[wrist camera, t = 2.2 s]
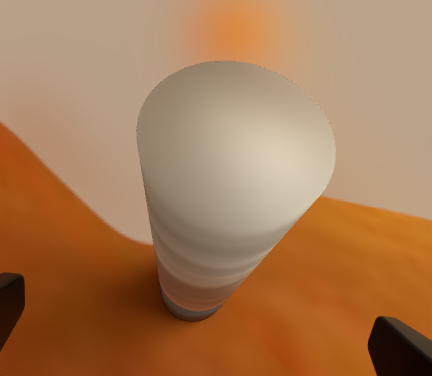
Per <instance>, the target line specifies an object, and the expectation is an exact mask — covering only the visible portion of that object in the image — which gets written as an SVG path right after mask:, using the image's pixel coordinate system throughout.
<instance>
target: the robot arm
mask: <svg viewBox="0 0 432 376" xmlns="http://www.w3.org/2000/svg"><path fill="white" fill-rule="evenodd" d="M24 306H25V283H24V277H23V276H22V275H21V274H16V273H7V272H5V273H1V274H0V351H1V350H2V348H3V346H4V344H5V343H6V341H7V339H8V337H9V336H10V334H11V332H12V330H13V328H14V327H15V325H16V323H17V321H18V320H19V318H20V316H21V314H22V312H23V310H24ZM368 351H369V354H370V357H371V360H372V363H373V366H374V368H375V371H376V374H377V376H432V340H430V339H428V338H427V337H425V336H424V335H422V334H420V333H419V332H417V331H416V330H414V329H412V328H411V327H409V326H408V325H406V324H404V323H403V322H401V321H400V320H398V319H396V318H394V317H386V316H379V317H377V318H376V320H375V323H374V325H373V328H372V331H371V334H370V337H369V340H368Z"/></svg>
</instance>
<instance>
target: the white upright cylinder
mask: <svg viewBox="0 0 432 376" xmlns="http://www.w3.org/2000/svg"><path fill="white" fill-rule="evenodd" d="M136 131H137V145H138V151H139V157H140V164H141V169H142V176H143V182H144V188H145V195H146V201H147V207H148V213H149V219H150V225H151V232H152V238H153V245H154V251H155V257H156V263H157V270H158V276H159V282H160V288H161V294H162V299H163V302H164V304H165V306H166V307H167V309H168V310H169V311H170V312H171V313H172V314H173V315H174V316H176V317H177V318H179V319H181V320H185V321H190V322H196V321H201V320H204V319H207V318H208V317H210V316H212V315H213V314H214V313H215V312H216V311H217V310H218V309H219V308H220V307H221V306H222V304H223V303H224V302H225V301H226V300H227V299H228V298H229V297H230V295H231V294H232V293H233V292H234V291H235V290H236V289H237V288H238V286H239V285H240V284H241V283H242V282H243V281H244V280H245V279H246V278H247V276H248V275H249V274H250V273H251V272H252V271H253V270H254V269H255V267H256V266H257V265H258V264H259V263H260V262H261V261H262V260H263V258H264V257H265V256H266V255H267V254H268V253H269V252H270V251H271V250H272V248H273V247H274V246H275V245H276V244H277V243H278V242H279V241H280V239H281V238H282V237H283V236H284V235H285V234H286V233H287V232H288V231H289V229H290V228H291V227H292V226H293V225H294V224H295V223H296V222H297V220H298V219H299V218H300V217H301V216H302V215H303V214H304V213H305V211H306V210H307V209H308V208H309V207H310V206H311V205H312V204H313V203H314V201H315V200H316V199H317V198H318V197H319V196H320V195H321V194H322V192H323V191H324V189H325V188H326V186H327V185H328V183H329V181H330V178H331V176H332V174H333V170H334V166H335V159H336V147H335V139H334V135H333V131H332V129H331V126H330V123H329V121H328V119H327V118H326V116H325V114H324V112H323V111H322V109H321V108H320V107H319V105H318V104H317V103H316V102H315V101H314V99H313V98H312V97H311V96H310V95H309V94H307V92H306V91H304V90H303V89H302V88H301V87H300V86H298V85H297V84H295V83H294V82H293V81H291V80H289V79H288V78H286V77H284V76H282V75H280V74H278V73H276V72H274V71H272V70H269V69H266V68H264V67H261V66H257V65H253V64H248V63H243V62H235V61H215V62H206V63H200V64H196V65H193V66H189V67H186V68H184V69H182V70H180V71H177V72H175V73H173V74H172V75H170V76H168V77H167V78H166V79H164V80H163V81H162V82H160V83H159V84H158V85H157V86H156V87H155V88H154V89H153V90H152V91H151V93H150V94H149V96H148V97H147V98H146V100H145V102H144V104H143V106H142V108H141V111H140V114H139V117H138V122H137V129H136Z"/></svg>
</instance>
